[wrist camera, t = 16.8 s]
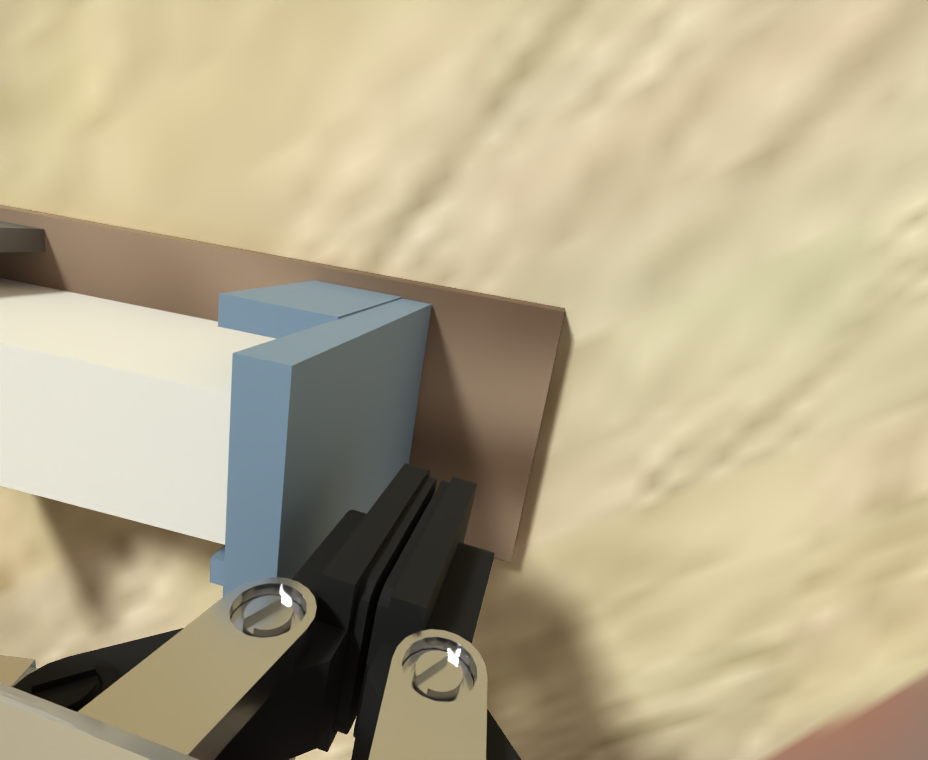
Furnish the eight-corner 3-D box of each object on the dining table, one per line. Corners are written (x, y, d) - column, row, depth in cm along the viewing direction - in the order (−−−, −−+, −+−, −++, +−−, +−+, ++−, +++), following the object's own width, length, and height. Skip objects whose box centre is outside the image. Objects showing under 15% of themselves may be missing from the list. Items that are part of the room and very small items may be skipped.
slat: (381, 465, 18) (299, 564, 13) (-4, 376, 21) (-222, 427, 15) (394, 357, 17) (312, 411, 12) (-14, 275, 19) (-253, 287, 14)
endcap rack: (513, 546, 19) (466, 837, 10) (-13, 417, 22) (-437, 543, 13) (564, 308, 17) (567, 388, 7) (-34, 198, 20) (-576, 155, 10)
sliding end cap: (399, 524, 19) (263, 759, 10) (297, 499, 19) (85, 701, 11) (431, 302, 17) (291, 362, 8) (314, 280, 17) (65, 314, 9)
